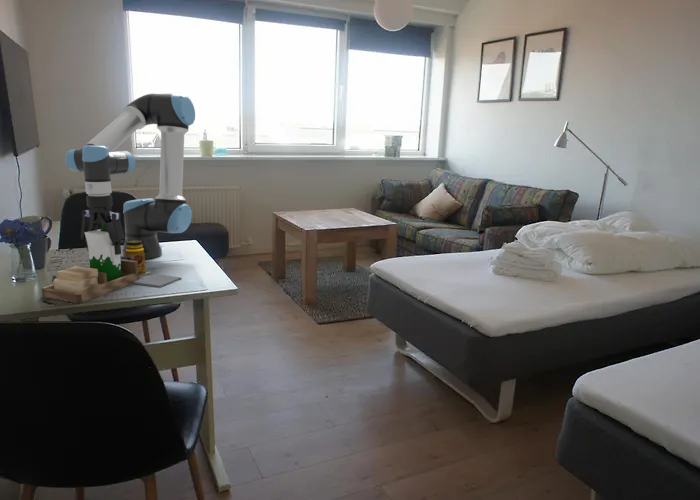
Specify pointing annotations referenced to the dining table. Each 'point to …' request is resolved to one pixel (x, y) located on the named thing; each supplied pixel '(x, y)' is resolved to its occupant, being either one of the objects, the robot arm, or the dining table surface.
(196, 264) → the dining table surface
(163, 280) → the mat
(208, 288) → the dining table surface
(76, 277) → the offcut stack
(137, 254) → the condiment
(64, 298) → the tray
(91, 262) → the soya milk
